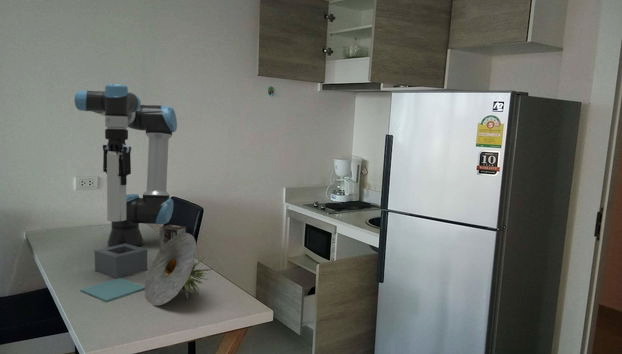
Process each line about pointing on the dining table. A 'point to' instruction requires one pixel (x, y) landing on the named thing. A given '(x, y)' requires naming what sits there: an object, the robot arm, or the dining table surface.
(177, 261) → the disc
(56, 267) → the dining table surface
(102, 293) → the teal mat
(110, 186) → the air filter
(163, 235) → the coffee box
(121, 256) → the grey hollow square block
